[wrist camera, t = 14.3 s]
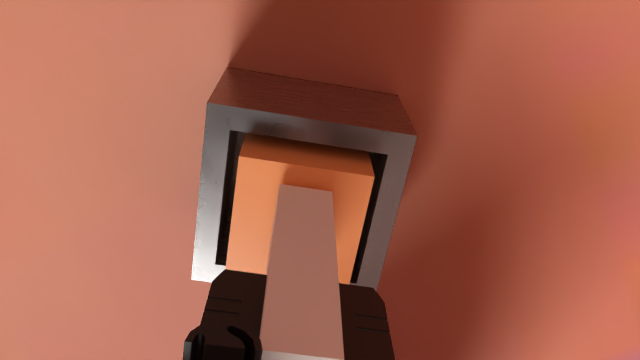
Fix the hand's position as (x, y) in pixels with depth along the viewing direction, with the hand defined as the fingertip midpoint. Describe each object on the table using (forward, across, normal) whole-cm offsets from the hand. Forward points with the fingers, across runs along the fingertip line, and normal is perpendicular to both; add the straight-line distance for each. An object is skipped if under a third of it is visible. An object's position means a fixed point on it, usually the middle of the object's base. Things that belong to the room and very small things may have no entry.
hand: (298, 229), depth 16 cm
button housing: (+5, 0, 0) cm, 5 cm away
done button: (+3, 0, 0) cm, 3 cm away
